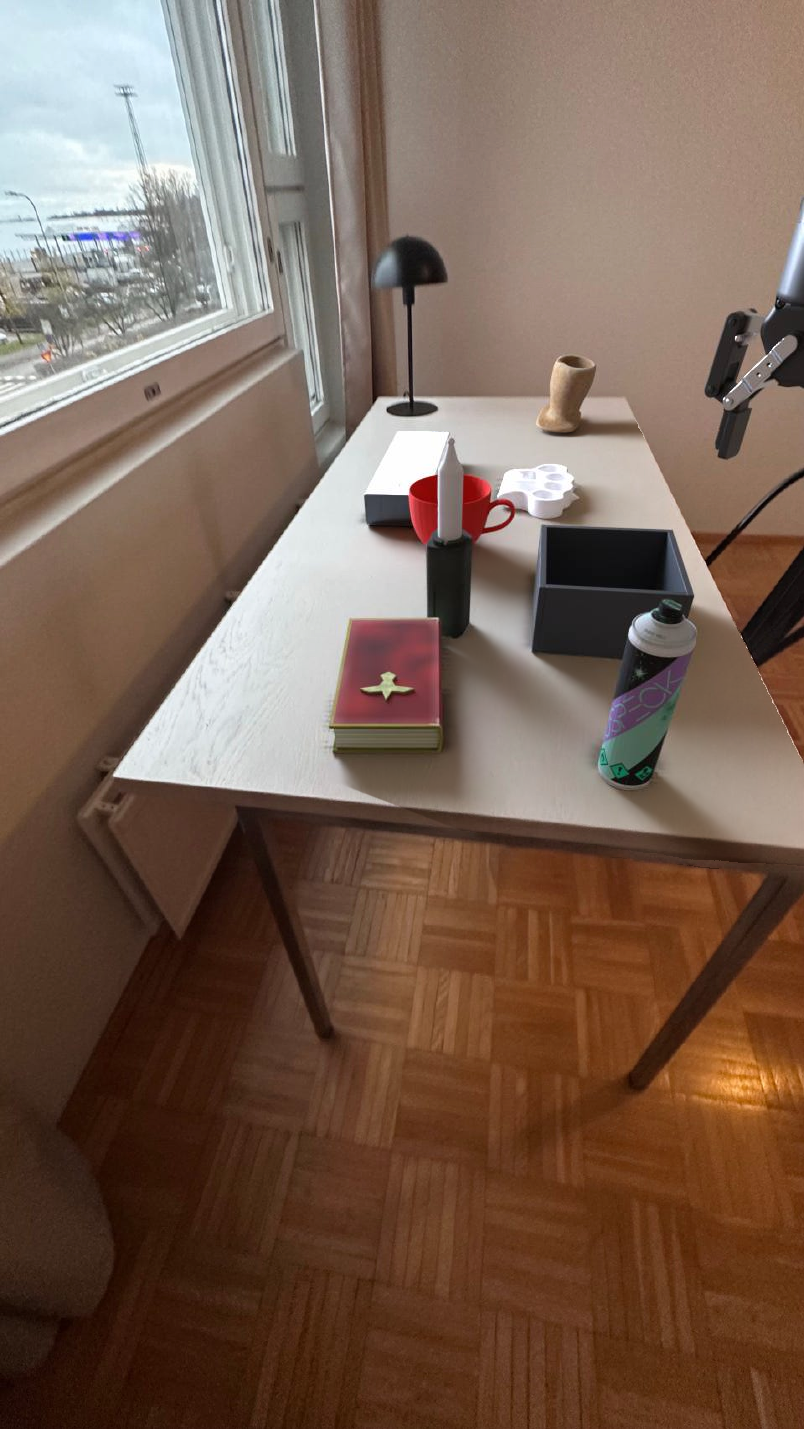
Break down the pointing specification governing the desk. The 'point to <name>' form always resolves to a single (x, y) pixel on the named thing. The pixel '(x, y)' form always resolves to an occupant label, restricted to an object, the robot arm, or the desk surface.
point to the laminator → (403, 475)
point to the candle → (449, 553)
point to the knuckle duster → (539, 490)
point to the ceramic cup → (473, 507)
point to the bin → (602, 586)
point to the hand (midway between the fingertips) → (776, 469)
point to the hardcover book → (390, 687)
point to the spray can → (646, 695)
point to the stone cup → (567, 393)
